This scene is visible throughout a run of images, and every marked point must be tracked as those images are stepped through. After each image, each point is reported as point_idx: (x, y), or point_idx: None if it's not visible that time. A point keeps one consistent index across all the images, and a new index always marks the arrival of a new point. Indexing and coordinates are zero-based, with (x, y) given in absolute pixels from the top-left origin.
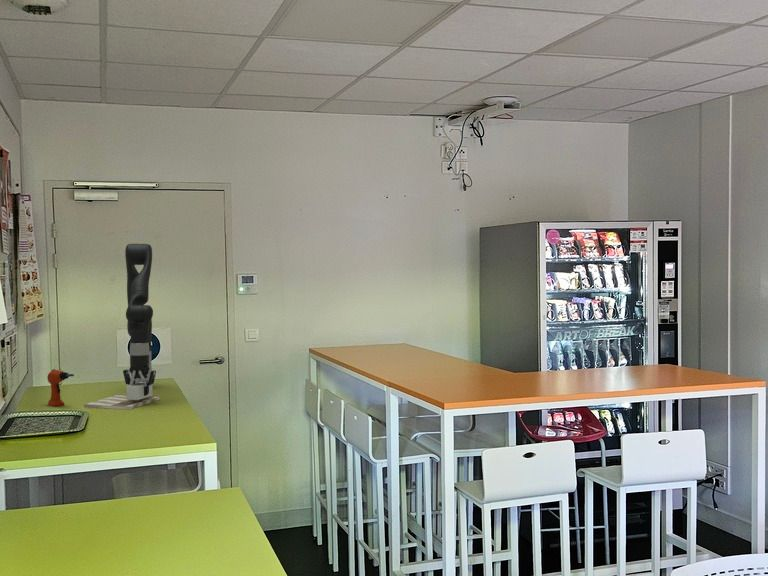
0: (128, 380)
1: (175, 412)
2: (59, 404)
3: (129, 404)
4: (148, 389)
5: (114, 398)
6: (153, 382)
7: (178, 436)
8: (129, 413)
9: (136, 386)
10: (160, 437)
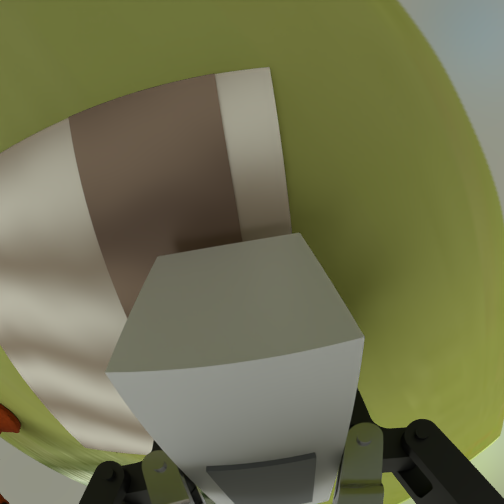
0: (104, 494)
1: (482, 370)
2: (19, 429)
3: None
4: (359, 402)
5: (11, 307)
6: (438, 434)
7: (474, 448)
8: None
9: (318, 502)
10: None
